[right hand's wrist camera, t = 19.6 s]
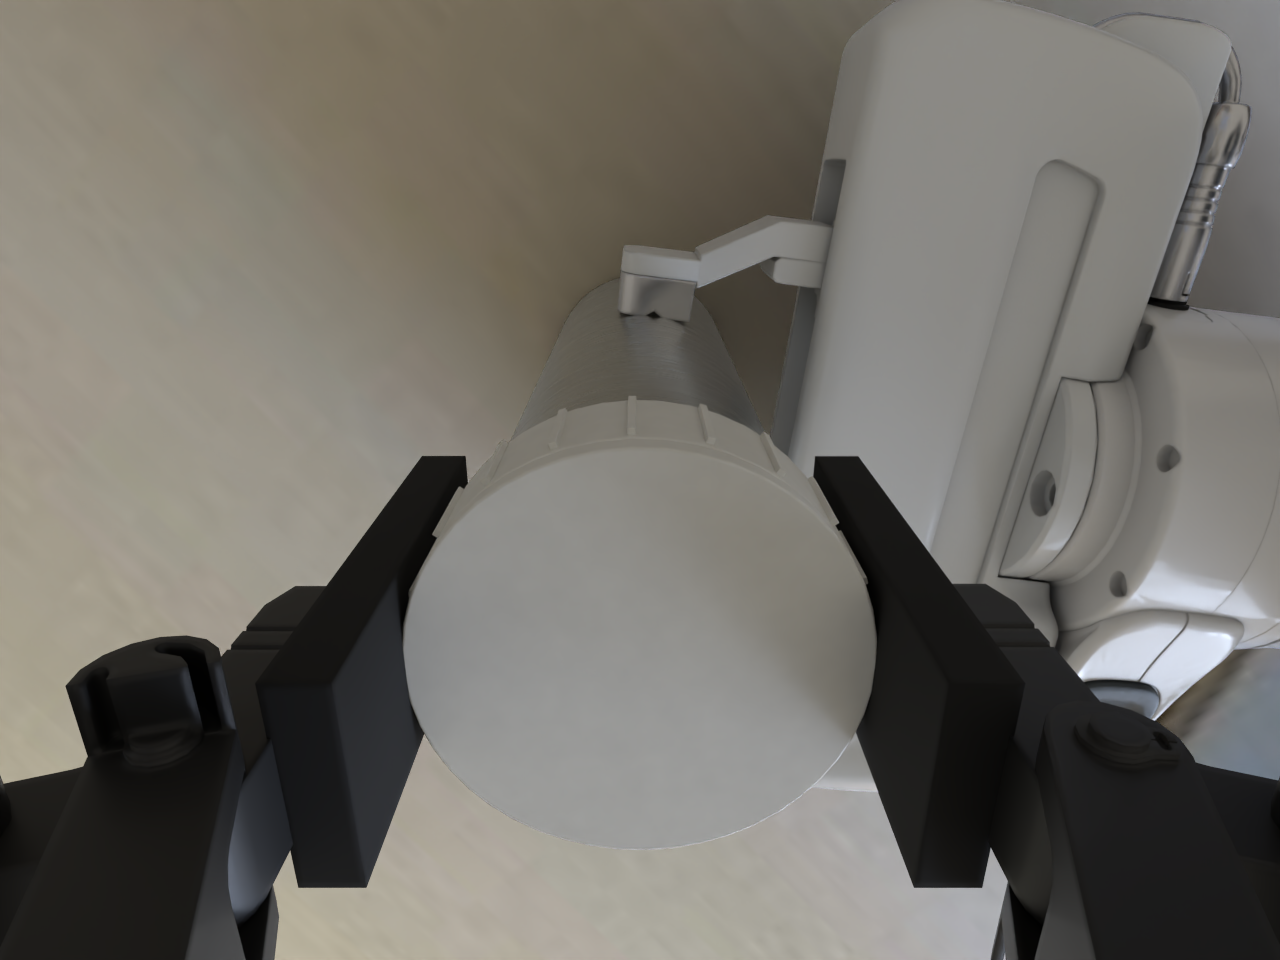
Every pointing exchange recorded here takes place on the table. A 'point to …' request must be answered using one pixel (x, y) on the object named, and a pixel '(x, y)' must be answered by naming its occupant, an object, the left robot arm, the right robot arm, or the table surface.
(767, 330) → the table surface
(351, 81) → the table surface
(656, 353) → the grey cylinder
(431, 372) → the table surface
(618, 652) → the lid
